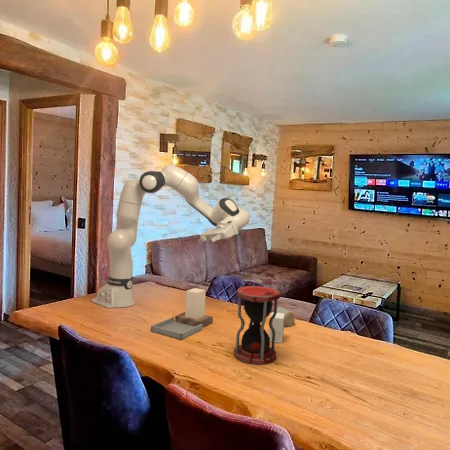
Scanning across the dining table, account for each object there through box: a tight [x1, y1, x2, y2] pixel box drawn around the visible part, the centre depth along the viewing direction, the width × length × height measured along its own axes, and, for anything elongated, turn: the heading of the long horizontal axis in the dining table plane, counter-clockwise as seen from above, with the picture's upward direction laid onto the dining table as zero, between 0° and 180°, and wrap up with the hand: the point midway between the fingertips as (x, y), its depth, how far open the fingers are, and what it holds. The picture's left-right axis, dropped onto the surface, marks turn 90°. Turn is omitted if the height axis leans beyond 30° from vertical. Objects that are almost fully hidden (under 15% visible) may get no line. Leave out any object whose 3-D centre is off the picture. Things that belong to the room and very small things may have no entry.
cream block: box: [184, 287, 207, 319], centre depth 191 cm, size 6×7×12 cm
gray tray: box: [150, 316, 203, 341], centre depth 180 cm, size 16×16×2 cm
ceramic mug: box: [272, 306, 296, 327], centre depth 197 cm, size 11×8×8 cm
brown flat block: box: [174, 311, 214, 329], centre depth 191 cm, size 14×10×3 cm
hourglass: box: [233, 285, 281, 365], centre depth 157 cm, size 16×16×25 cm
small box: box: [268, 311, 285, 344], centre depth 175 cm, size 8×6×10 cm
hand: (205, 241), depth 198 cm, fingers open, 8 cm apart
